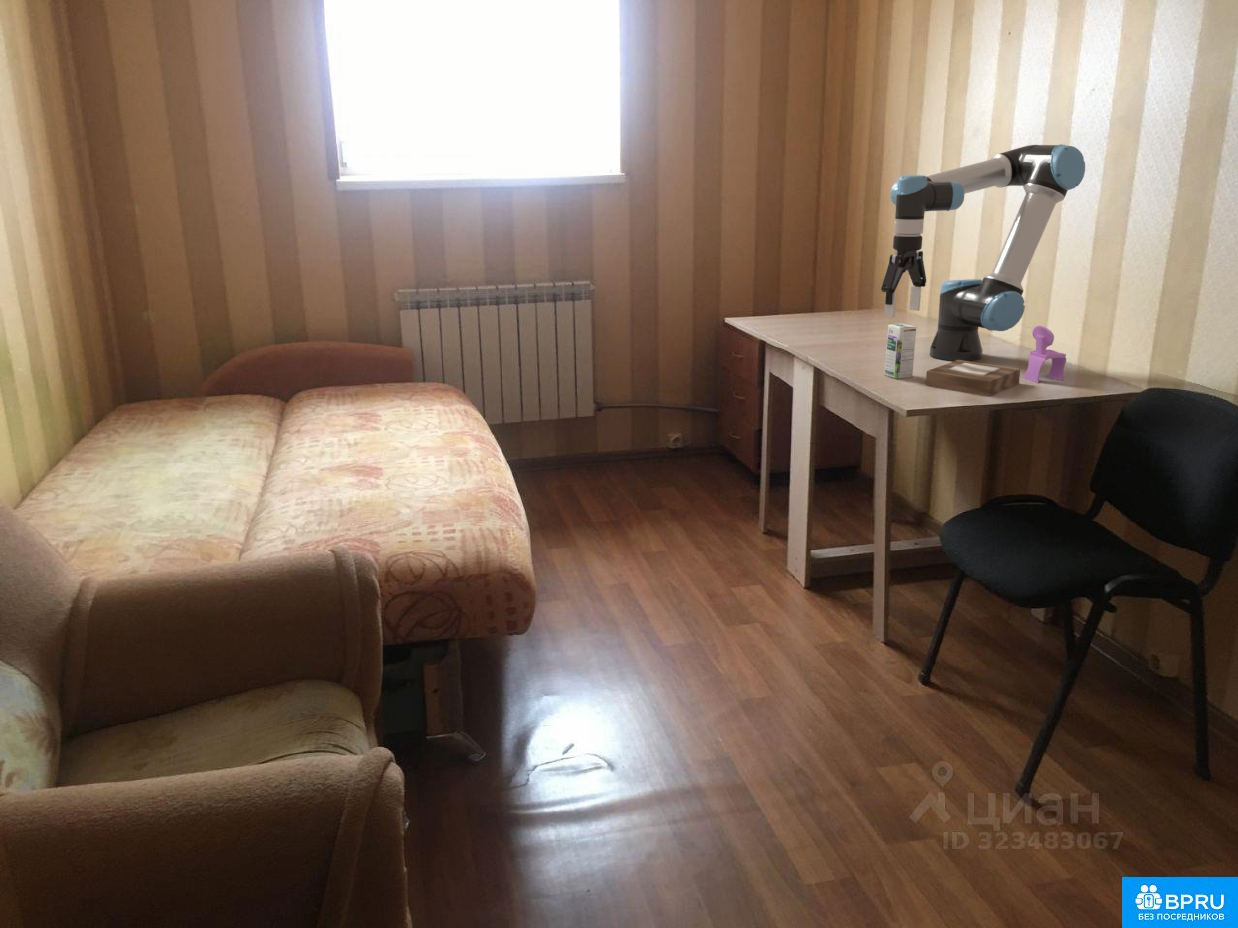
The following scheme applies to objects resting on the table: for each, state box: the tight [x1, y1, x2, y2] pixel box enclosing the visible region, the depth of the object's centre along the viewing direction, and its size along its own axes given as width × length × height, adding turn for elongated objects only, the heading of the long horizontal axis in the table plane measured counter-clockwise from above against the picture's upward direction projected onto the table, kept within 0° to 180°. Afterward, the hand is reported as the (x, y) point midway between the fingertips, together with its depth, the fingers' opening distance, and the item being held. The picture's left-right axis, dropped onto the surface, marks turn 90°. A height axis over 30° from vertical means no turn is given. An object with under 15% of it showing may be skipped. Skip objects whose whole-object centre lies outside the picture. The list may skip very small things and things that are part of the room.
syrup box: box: [884, 323, 917, 380], centre depth 283 cm, size 6×6×14 cm
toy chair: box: [1022, 325, 1067, 384], centre depth 277 cm, size 8×9×15 cm
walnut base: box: [925, 360, 1021, 397], centre depth 274 cm, size 18×18×4 cm
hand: (902, 313), depth 280 cm, fingers open, 13 cm apart
